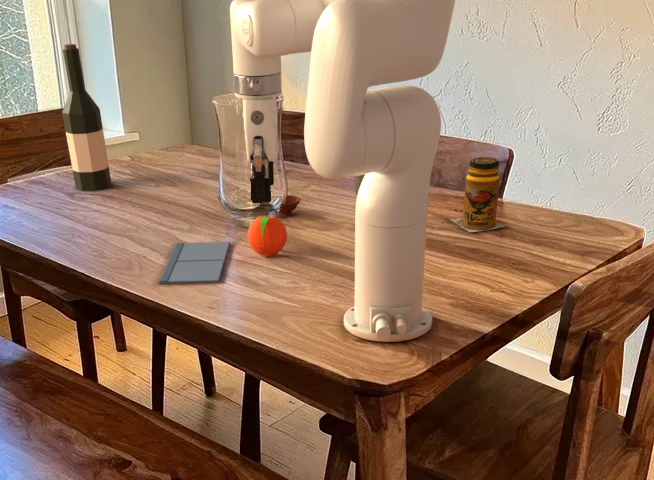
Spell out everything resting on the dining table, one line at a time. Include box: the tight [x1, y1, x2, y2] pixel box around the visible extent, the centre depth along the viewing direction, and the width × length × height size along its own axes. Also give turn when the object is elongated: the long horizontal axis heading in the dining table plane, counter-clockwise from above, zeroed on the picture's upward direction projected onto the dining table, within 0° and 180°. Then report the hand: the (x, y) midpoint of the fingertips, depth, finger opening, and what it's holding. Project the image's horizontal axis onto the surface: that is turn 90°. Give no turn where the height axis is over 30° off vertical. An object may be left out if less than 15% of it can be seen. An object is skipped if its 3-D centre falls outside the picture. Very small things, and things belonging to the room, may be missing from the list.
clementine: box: [247, 214, 288, 257], centre depth 138 cm, size 8×7×7 cm
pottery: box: [217, 194, 302, 218], centre depth 162 cm, size 12×20×4 cm, turn 48°
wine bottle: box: [61, 43, 112, 192], centre depth 177 cm, size 8×8×30 cm
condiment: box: [449, 156, 506, 233], centre depth 146 cm, size 7×8×12 cm
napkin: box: [158, 241, 231, 285], centre depth 138 cm, size 19×10×1 cm, turn 177°
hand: (263, 193), depth 134 cm, fingers open, 9 cm apart
